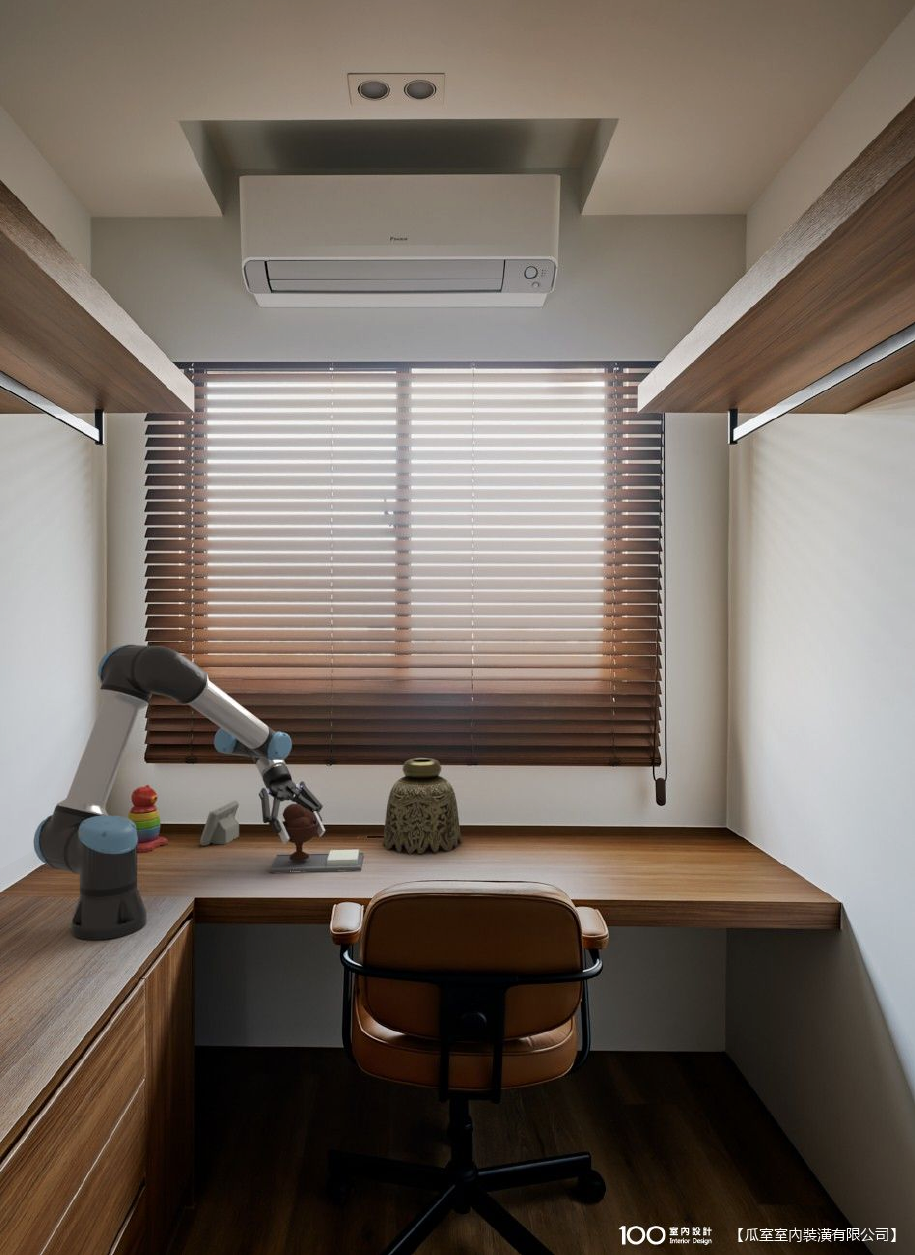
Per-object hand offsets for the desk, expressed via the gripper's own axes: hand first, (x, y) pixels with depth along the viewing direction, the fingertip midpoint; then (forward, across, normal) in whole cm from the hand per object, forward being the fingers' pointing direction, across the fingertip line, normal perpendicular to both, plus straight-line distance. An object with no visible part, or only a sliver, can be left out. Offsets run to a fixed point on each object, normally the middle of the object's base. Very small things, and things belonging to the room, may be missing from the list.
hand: (304, 837), depth 218 cm
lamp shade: (+9, -38, -2) cm, 39 cm away
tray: (+6, -4, -5) cm, 9 cm away
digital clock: (-23, +4, -35) cm, 42 cm away
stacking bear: (-29, +23, -41) cm, 56 cm away
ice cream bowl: (+2, 0, -6) cm, 7 cm away
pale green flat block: (+9, -9, -2) cm, 13 cm away
